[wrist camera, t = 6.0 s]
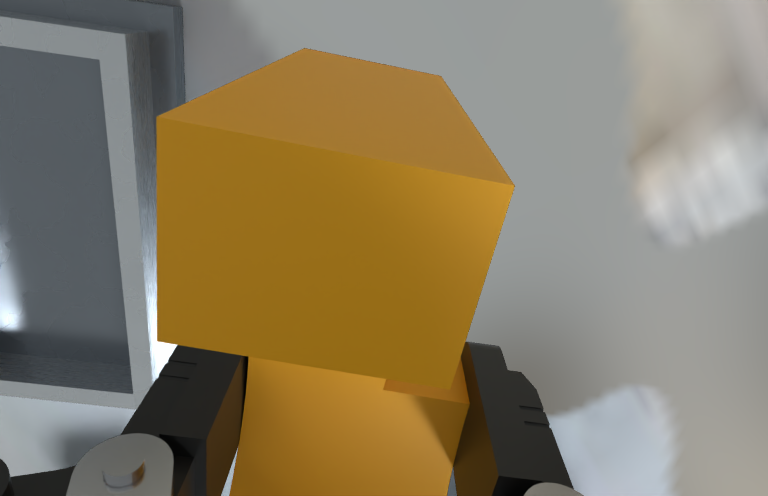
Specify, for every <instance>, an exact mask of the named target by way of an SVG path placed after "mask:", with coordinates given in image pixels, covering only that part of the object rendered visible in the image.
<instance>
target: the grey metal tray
mask: <svg viewBox="0 0 768 496" xmlns="http://www.w3.org/2000/svg"><path fill="white" fill-rule="evenodd" d="M183 104H185V75H184V45H183V15H182V7H177V6H170V5H163V4H156V3H150V2H143V1H136V0H0V395H2V396H12V397H22V398H31V399H41V400H51V401H60V402H70V403H79V404H89V405H99V406H108V407H118V408H128V409H137V408H138V407H139V405H140V403H141V402H142V400H143V399H144V397H145V395H146V394H147V392H148V391H149V389H150V388H151V386H152V384H153V383H154V381H155V380H156V378H158V377H159V373H160V372H161V370H162V369H163V367H164V365H165V364H166V363H168V359H169V357H170V356H171V354H172V353H173V351H174V350H175V348H176V346H177V345H175V344H169V343H163V342H157V128H156V117H157V116H159V115H161V114H163V113H166V112H168V111H170V110H172V109H174V108H176V107H179V106H181V105H183Z"/></svg>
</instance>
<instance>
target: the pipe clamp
mask: <svg viewBox="0 0 768 496" xmlns="http://www.w3.org/2000/svg"><path fill="white" fill-rule="evenodd" d="M156 128H157V342H163V343H169V344H175V345H181V346H187V347H194V348H200V349H206V350H212V351H218V352H224V353H230V354H236V355H242V356H248V375H247V386H246V396H245V404H244V413H243V420H242V427H241V434H240V440H239V446H238V452H237V458H236V463H235V469H234V474H233V479H232V485H231V490H230V495H229V496H447V492H448V487H449V482H450V477H451V473H452V468H453V464H454V460H455V456H456V452H457V448H458V444H459V440H460V436H461V432H462V428H463V425H464V422H465V418H466V415H467V411H468V408H469V405H470V402H469V397H468V392H467V386H466V381H465V376H464V371H463V366H462V361H461V354H462V351H463V347H464V344H465V341H466V338H467V335H468V332H469V329H470V325H471V322H472V319H473V316H474V313H475V309H476V307H477V303H478V300H479V297H480V294H481V291H482V288H483V285H484V282H485V278H486V275H487V272H488V269H489V266H490V263H491V260H492V256H493V253H494V250H495V247H496V244H497V241H498V238H499V235H500V231H501V228H502V225H503V222H504V219H505V215H506V213H507V209H508V206H509V203H510V200H511V197H512V194H513V191H514V187H515V185H514V184H513V182H512V181H511V179H510V178H509V176H508V175H507V173H506V172H505V170H504V169H503V167H502V166H501V164H500V163H499V161H498V160H497V158H496V157H495V155H494V154H493V153H492V151H491V149H490V148H489V147H488V145H487V144H486V142H485V141H484V139H483V138H482V136H481V135H480V133H479V132H478V131H477V129H476V127H475V126H474V124H473V123H472V121H471V120H470V118H469V117H468V115H467V114H466V112H465V111H464V109H463V108H462V106H461V105H460V103H459V102H458V100H457V99H456V97H455V96H454V95H453V93H452V92H451V90H450V89H449V87H448V86H447V84H446V83H445V81H444V80H443V78H442V77H441V76H438V75H433V74H429V73H424V72H418V71H413V70H409V69H404V68H399V67H395V66H389V65H385V64H380V63H375V62H370V61H365V60H360V59H356V58H351V57H346V56H341V55H336V54H331V53H326V52H322V51H317V50H311V49H307V48H304V49H302V50H300V51H297V52H295V53H293V54H291V55H289V56H286V57H284V58H282V59H280V60H278V61H276V62H273V63H271V64H269V65H267V66H265V67H263V68H260V69H258V70H256V71H254V72H252V73H250V74H248V75H245V76H243V77H241V78H239V79H237V80H235V81H232V82H230V83H228V84H226V85H224V86H222V87H219V88H217V89H215V90H213V91H211V92H209V93H207V94H204V95H202V96H200V97H198V98H196V99H194V100H191V101H189V102H187V103H185V104H183V105H181V106H179V107H176V108H174V109H172V110H170V111H168V112H166V113H163V114H161V115H159V116H157V117H156Z"/></svg>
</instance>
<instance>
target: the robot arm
mask: <svg viewBox="0 0 768 496" xmlns="http://www.w3.org/2000/svg"><path fill="white" fill-rule="evenodd" d="M461 361H462V366H463V371H464V376H465V381H466V386H467V392H468V397H469V402H470V405H469V408H468V411H467V415H466V418H465V422H464V425H463V428H462V432H461V436H460V440H459V444H458V448H457V452H456V456H455V460H454V464H453V469H454V476H455V484H456V491H457V496H583V495H582V494H581V493H579V492H577V491H575V490H574V488H573V486H572V483H571V480H570V478H569V475H568V472H567V470H566V467H565V464H564V462H563V459H562V456H561V454H560V451H559V448H558V446H557V443H556V440H555V438H554V435H553V432H552V430H551V428H549V422H548V419H547V417H546V414H545V412H543V406H542V403H541V401H540V398H539V395H538V393H537V390H536V389H535V388H534V386H533V385H532V384H531V383H530V382H529V381H528V380H527V379H526V377H525V376H524V375H523V374H522V373H521V372H517V371H509V370H507V366H506V363H505V360H504V357H503V354H502V351H501V349H500V347H499V346H495V345H487V344H480V343H472V342H465V344H464V347H463V351H462V354H461ZM247 375H248V356H242V355H236V354H230V353H224V352H218V351H212V350H206V349H200V348H194V347H187V346H181V345H177V346H176V348H175V350H174V351H173V353H172V354H171V356H170V357H169V359H168V363H166V364H165V365H164V367H163V369H162V370H161V372H160V373H159V377H158V378H156V380H155V381H154V383H153V384H152V386H151V388H150V389H149V391H148V392H147V394H146V395H145V397H144V399H143V400H142V402H141V403H140V405H139V407H138V408H137V410H136V411H135V413H134V414H133V416H132V418H131V419H130V421H129V422H128V424H127V426H126V427H125V429H124V430H123V432H122V434H121V435H120V436H117V437H113V438H111V439H108V440H106V441H104V442H102V443H100V444H98V445H97V446H95V447H94V448H92V449H91V450H90V451H88V452H87V453H86V454H85V455H84V456H83V457H82V458H81V459H80V461H79V462H78V463H77V465H76V466H73V467H69V468H65V469H60V470H55V471H48V472H41V473H35V474H28V475H21V476H14V477H10V474H9V469H8V467H7V465H6V464H5V463H4V462H3V461H2V460H1V459H0V496H221V494H222V491H223V488H224V485H225V482H226V480H227V477H228V474H229V471H230V468H231V465H232V462H233V459H234V457H235V454H236V451H237V448H238V445H239V440H240V434H241V427H242V420H243V413H244V404H245V396H246V386H247Z"/></svg>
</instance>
